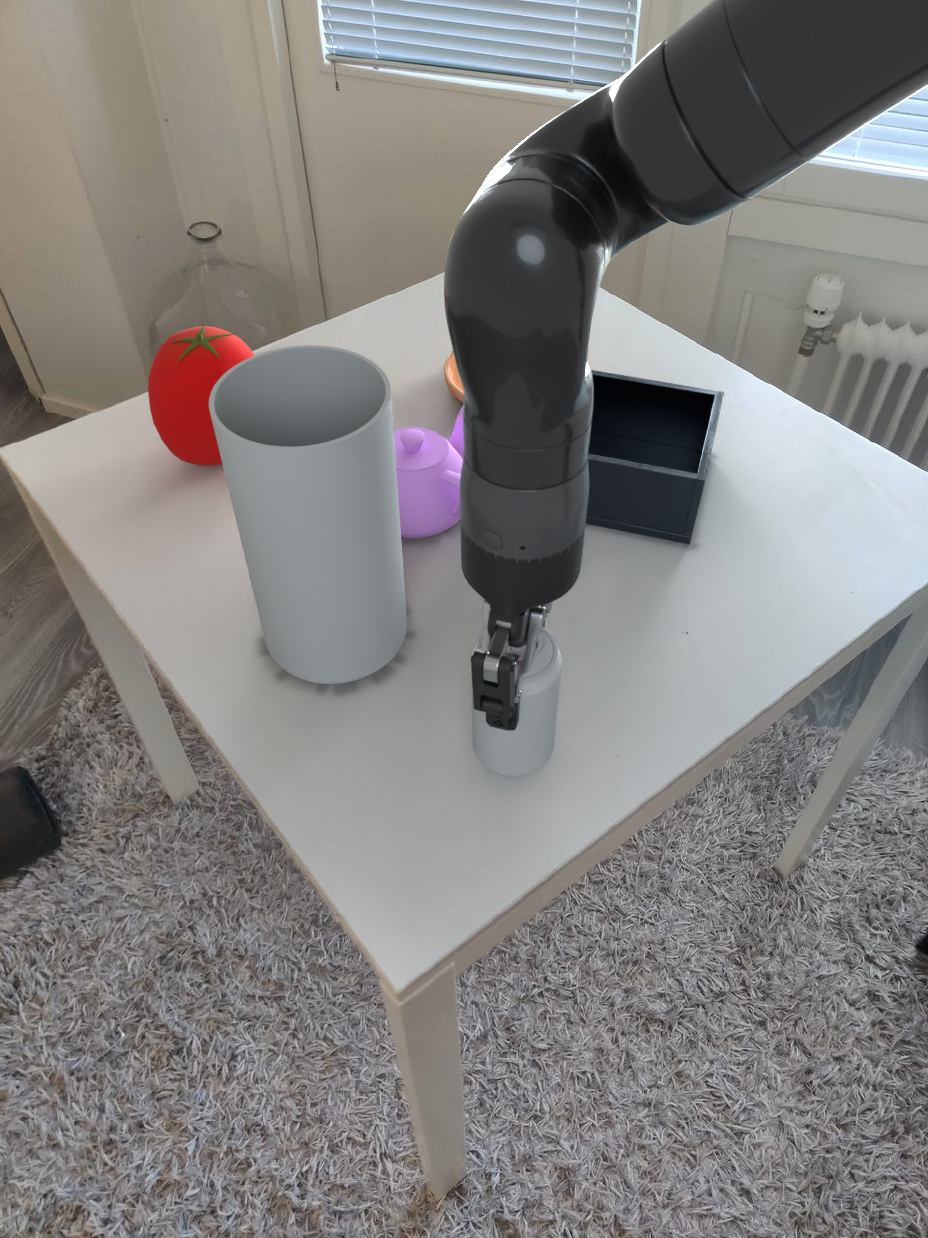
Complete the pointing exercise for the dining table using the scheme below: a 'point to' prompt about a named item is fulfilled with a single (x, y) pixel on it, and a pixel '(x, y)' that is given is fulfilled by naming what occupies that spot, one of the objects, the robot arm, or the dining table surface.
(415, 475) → the teapot
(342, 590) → the cylinder vase
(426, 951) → the dining table surface
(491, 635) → the robot arm
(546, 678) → the beverage can
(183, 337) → the tomato
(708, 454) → the dark gray open box
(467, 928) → the dining table surface
